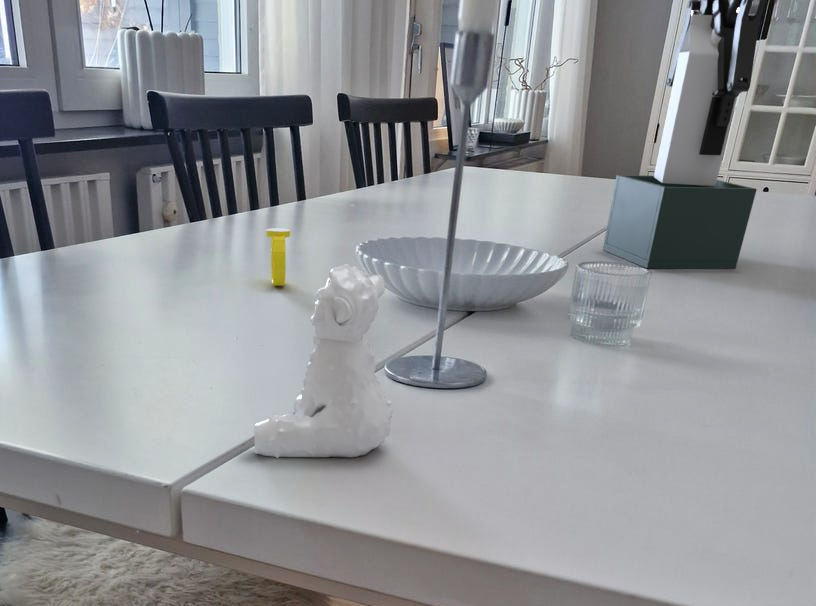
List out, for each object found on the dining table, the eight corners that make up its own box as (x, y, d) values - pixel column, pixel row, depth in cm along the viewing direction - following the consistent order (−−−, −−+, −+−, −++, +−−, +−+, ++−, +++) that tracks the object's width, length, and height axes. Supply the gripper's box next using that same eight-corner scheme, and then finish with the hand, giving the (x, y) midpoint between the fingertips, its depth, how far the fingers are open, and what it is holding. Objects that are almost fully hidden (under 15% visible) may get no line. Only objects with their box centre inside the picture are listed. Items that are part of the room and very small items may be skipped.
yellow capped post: (291, 290, 103) (291, 234, 100) (267, 290, 103) (267, 233, 100) (288, 279, 108) (288, 225, 105) (265, 278, 108) (264, 225, 105)
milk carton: (653, 178, 127) (686, 15, 116) (704, 181, 126) (743, 17, 116) (661, 184, 121) (697, 13, 111) (715, 187, 120) (757, 15, 110)
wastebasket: (735, 268, 125) (757, 188, 119) (647, 268, 122) (664, 187, 117) (684, 250, 136) (702, 176, 130) (602, 250, 133) (616, 174, 128)
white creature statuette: (303, 413, 68) (306, 243, 62) (410, 432, 66) (425, 257, 59) (246, 454, 61) (243, 267, 54) (364, 478, 58) (376, 284, 52)
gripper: (666, -54, 117) (628, 143, 129) (763, -70, 100) (709, 159, 112) (717, -50, 118) (675, 144, 131) (822, -66, 101) (762, 160, 114)
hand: (691, 151), depth 121 cm, fingers closed on milk carton, 9 cm apart
